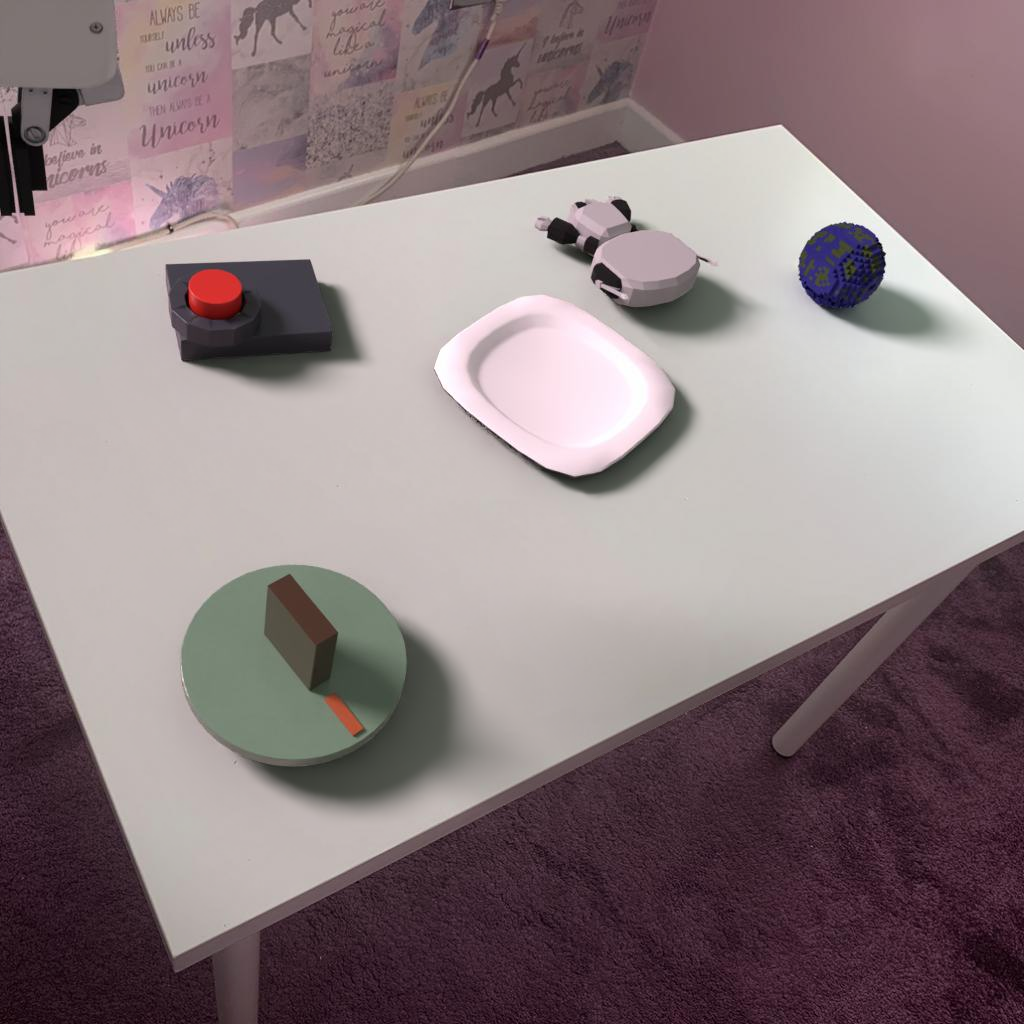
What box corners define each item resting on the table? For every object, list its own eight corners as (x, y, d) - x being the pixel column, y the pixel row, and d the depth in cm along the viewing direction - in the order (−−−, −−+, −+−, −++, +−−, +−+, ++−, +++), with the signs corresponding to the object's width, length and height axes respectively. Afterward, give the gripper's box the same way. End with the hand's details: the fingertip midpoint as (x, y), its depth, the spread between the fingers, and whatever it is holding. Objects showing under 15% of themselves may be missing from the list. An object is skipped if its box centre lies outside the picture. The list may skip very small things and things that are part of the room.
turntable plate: (137, 638, 66) (131, 579, 61) (321, 540, 74) (330, 481, 69) (264, 812, 61) (269, 763, 56) (448, 688, 69) (467, 636, 64)
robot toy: (520, 245, 104) (619, 335, 97) (528, 205, 100) (632, 295, 94) (611, 217, 110) (710, 299, 103) (622, 178, 107) (725, 261, 100)
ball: (772, 281, 108) (804, 220, 102) (815, 259, 112) (849, 200, 106) (831, 329, 105) (867, 270, 99) (873, 306, 109) (911, 247, 103)
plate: (692, 402, 94) (699, 389, 93) (573, 508, 83) (579, 495, 82) (537, 291, 99) (541, 276, 97) (406, 377, 88) (409, 363, 87)
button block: (177, 370, 83) (175, 332, 80) (160, 284, 88) (158, 246, 85) (333, 359, 88) (338, 323, 84) (308, 278, 93) (312, 242, 90)
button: (192, 322, 82) (192, 305, 80) (185, 287, 84) (185, 269, 82) (245, 319, 83) (246, 302, 82) (236, 284, 85) (237, 267, 84)
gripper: (154, -222, 45) (160, 156, 58) (-272, -284, 39) (-154, 152, 53) (182, -142, 40) (181, 244, 54) (-290, -198, 35) (-157, 250, 49)
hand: (16, 198), depth 53 cm, fingers closed
